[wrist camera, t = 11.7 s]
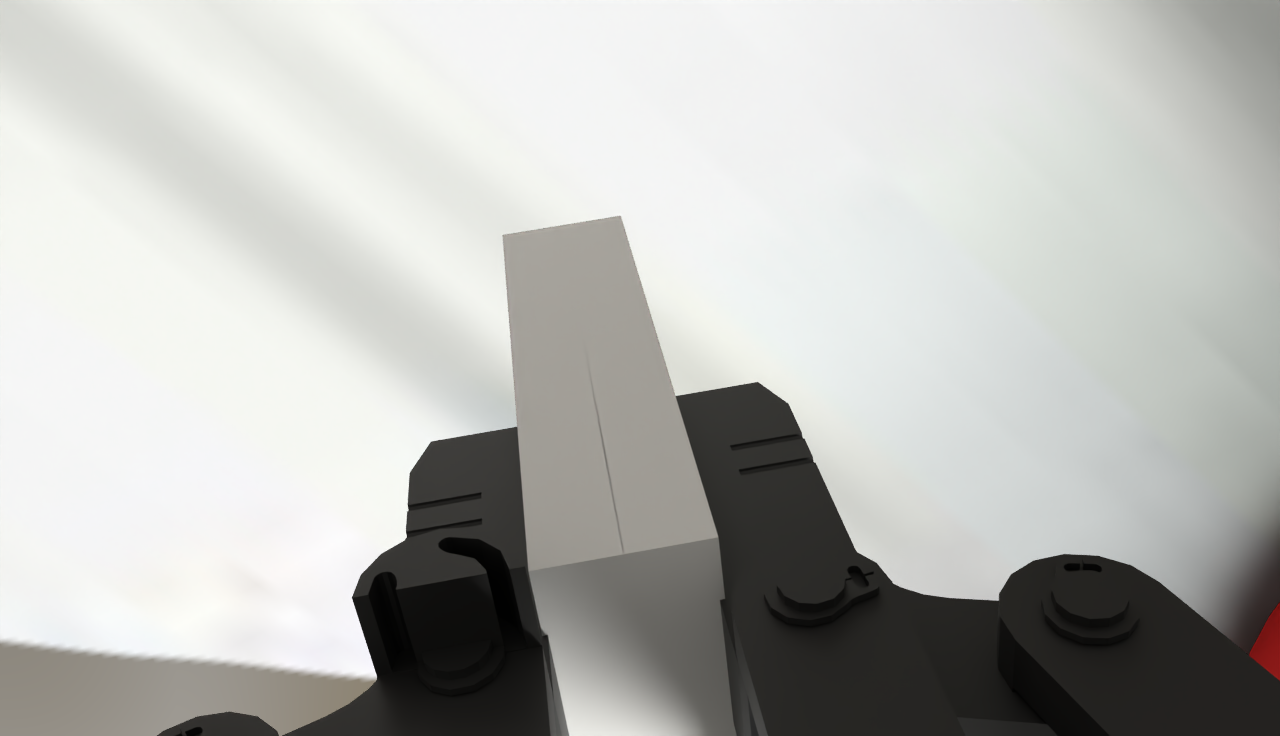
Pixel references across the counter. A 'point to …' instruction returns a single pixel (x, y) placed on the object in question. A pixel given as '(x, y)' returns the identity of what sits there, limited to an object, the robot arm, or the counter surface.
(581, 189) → the counter surface
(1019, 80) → the counter surface
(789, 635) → the robot arm
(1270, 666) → the red round bowl
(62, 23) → the counter surface
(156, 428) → the counter surface
